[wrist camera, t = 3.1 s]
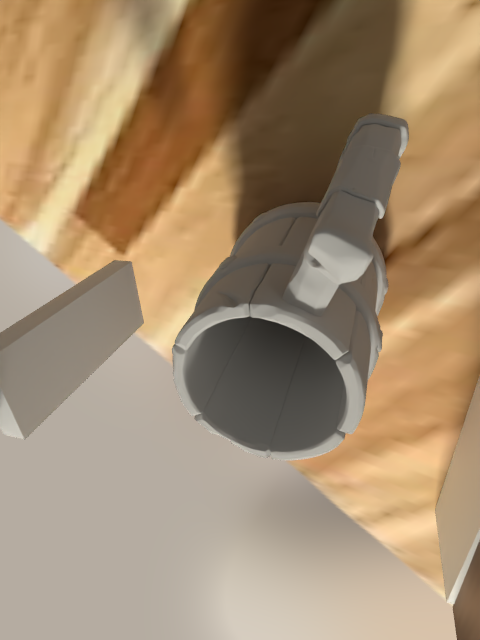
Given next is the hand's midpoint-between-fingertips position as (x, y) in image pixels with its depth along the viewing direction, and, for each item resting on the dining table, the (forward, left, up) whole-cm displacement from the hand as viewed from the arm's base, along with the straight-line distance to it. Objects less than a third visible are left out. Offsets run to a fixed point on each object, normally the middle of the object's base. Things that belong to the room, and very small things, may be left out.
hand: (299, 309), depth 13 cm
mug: (0, 0, -7) cm, 7 cm away
